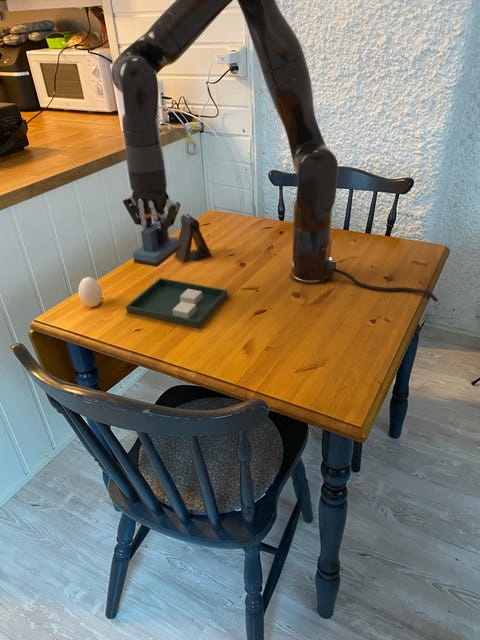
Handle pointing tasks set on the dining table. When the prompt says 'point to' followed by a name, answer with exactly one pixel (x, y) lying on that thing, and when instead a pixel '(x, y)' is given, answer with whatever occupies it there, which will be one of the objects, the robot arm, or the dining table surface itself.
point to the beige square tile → (191, 296)
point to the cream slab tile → (184, 310)
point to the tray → (176, 302)
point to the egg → (90, 292)
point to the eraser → (155, 248)
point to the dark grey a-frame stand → (186, 234)
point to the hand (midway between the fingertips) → (156, 243)
